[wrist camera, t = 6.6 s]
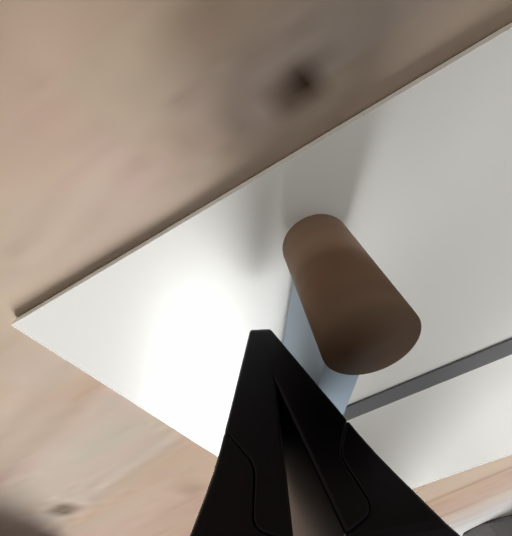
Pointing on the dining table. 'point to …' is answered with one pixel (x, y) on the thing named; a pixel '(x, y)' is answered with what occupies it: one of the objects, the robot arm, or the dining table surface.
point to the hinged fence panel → (342, 308)
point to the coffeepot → (493, 528)
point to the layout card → (375, 244)
